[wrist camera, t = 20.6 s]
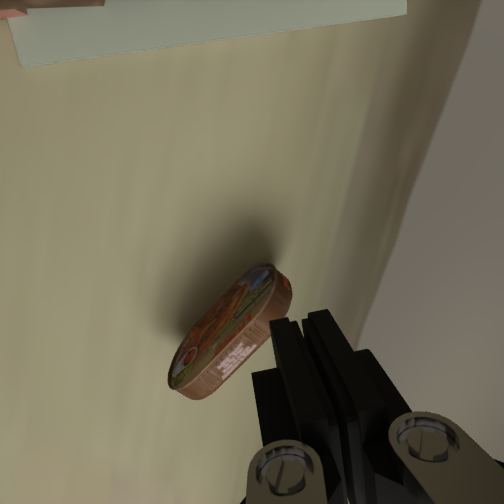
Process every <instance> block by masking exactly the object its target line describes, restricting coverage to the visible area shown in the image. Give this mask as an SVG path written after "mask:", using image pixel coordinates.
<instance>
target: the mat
mask: <svg viewBox="0 0 504 504" xmlns="http://www.w3.org/2000/svg"><path fill="white" fill-rule="evenodd" d="M26 10H27V14H28V15H25V16H18V17H12V18H7V19H8V23H9V26H10V29H11V33H12V36H13V39H14V43H15V46H16V49H17V53H18V56H19V59H20V63H21V66H22V67H31V66H38V65H46V64H53V63H60V62H67V61H75V60H82V59H89V58H96V57H104V56H111V55H118V54H125V53H133V52H140V51H147V50H154V49H162V48H169V47H176V46H183V45H191V44H198V43H205V42H213V41H220V40H227V39H234V38H242V37H249V36H256V35H263V34H271V33H278V32H285V31H292V30H300V29H307V28H314V27H321V26H329V25H336V24H343V23H350V22H358V21H365V20H372V19H379V18H387V17H394V16H401V15H405V14H407V0H105V3H104V6H93V7H63V8H32V9H26Z"/></svg>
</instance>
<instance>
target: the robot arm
mask: <svg viewBox="0 0 504 504" xmlns="http://www.w3.org/2000/svg"><path fill="white" fill-rule="evenodd" d="M269 326H270V332H271V338H272V343H273V349H274V355H275V360H276V366H277V368H272V369H268V370H263V371H258V372H253V373H251V374H252V380H253V387H254V393H255V399H256V405H257V411H258V418H259V424H260V430H261V436H262V442H263V448H262V449H260V450H259V451H258V452H257V453H256V454H255V455H254V457H253V459H252V460H251V462H250V465H249V469H248V475H247V489H246V497H245V498H244V499H243V501H242V502H241V503H240V504H348V500H349V503H350V504H504V463H503V462H500V461H498V460H495V459H493V458H492V457H491V456H489V454H488V453H486V451H484V450H483V449H482V448H481V447H480V446H479V445H478V444H477V443H476V442H475V441H474V440H473V439H472V438H471V437H470V436H469V435H468V434H467V433H466V432H465V431H464V430H462V429H461V428H460V427H459V426H458V425H457V424H455V423H454V422H452V421H451V420H450V419H448V418H446V417H443V416H441V415H439V414H435V413H431V412H419V411H418V412H417V411H415V412H412V410H411V409H410V408H409V406H408V405H407V403H406V402H405V400H404V399H403V397H402V396H401V394H400V393H399V392H398V390H397V389H396V387H395V386H394V384H393V383H392V381H391V380H390V378H389V377H388V376H387V374H386V373H385V371H384V370H383V368H382V367H381V365H380V364H379V362H378V361H377V360H376V358H375V357H374V355H373V354H372V352H371V351H370V350H369V349H364V350H359V351H353V349H352V348H351V346H350V344H349V343H348V341H347V340H346V338H345V336H344V335H343V333H342V331H341V330H340V328H339V326H338V325H337V323H336V322H335V320H334V318H333V317H332V315H331V313H330V312H329V310H328V309H325V310H320V311H315V312H310V313H308V318H306V319H302V327H303V334H304V337H303V335H302V332H301V330H300V328H299V325H298V323H297V321H292V322H290V321H289V319H288V317H285V318H280V319H275V320H271V321H269ZM347 498H348V500H347Z"/></svg>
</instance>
